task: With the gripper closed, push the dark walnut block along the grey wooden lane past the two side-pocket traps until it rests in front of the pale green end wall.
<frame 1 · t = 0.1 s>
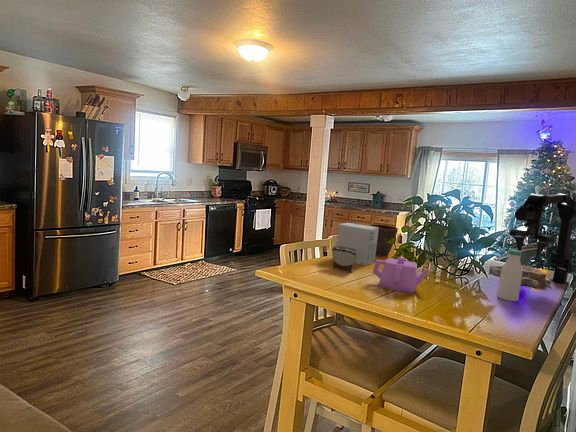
hand: (528, 253, 197), 15 cm above the table, tool pointing down, fingers open, 9 cm apart
teakettle: (398, 287, 171), on the table
supplement box 2: (354, 260, 213), on the table
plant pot: (380, 255, 234), on the table
supplement box: (465, 269, 220), on the table
food container: (344, 269, 191), on the table
block: (535, 285, 200), on the table
milk bottle: (507, 299, 170), on the table
trap lane: (517, 279, 208), on the table
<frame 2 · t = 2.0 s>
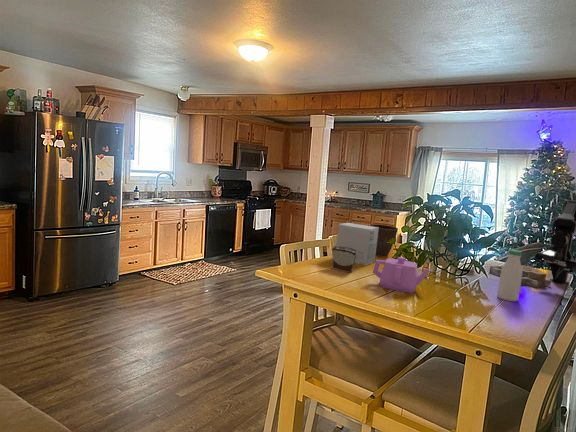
hand: (554, 278, 192), 5 cm above the table, tool pointing down, fingers closed
nothing on the table moved.
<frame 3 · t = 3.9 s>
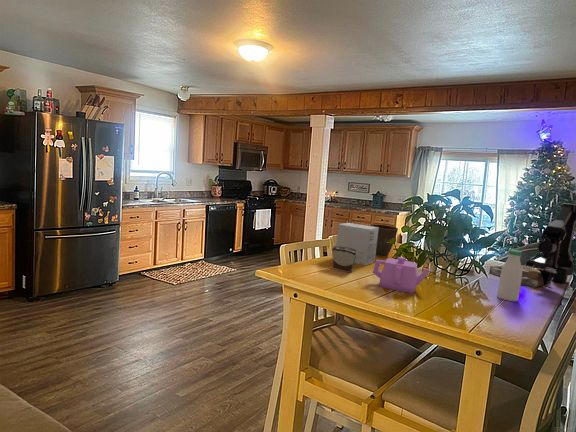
hand: (545, 285, 195), 1 cm above the table, tool pointing down, fingers closed
block: (535, 284, 200), on the table, touching gripper
everything else where it was.
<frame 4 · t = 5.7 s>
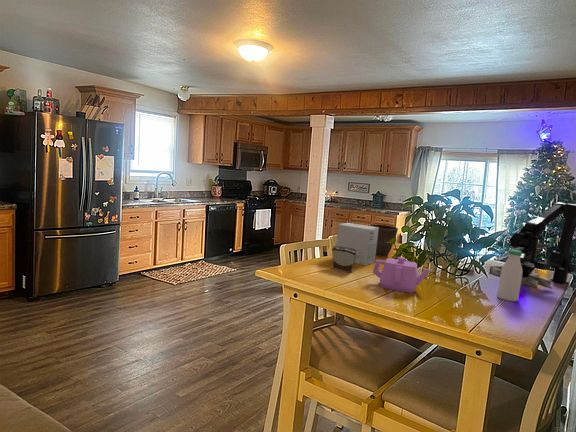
hand: (524, 279, 205), 1 cm above the table, tool pointing down, fingers closed
block: (520, 276, 208), point 1 cm above the table, tilted 28°, touching gripper
everything else where it was.
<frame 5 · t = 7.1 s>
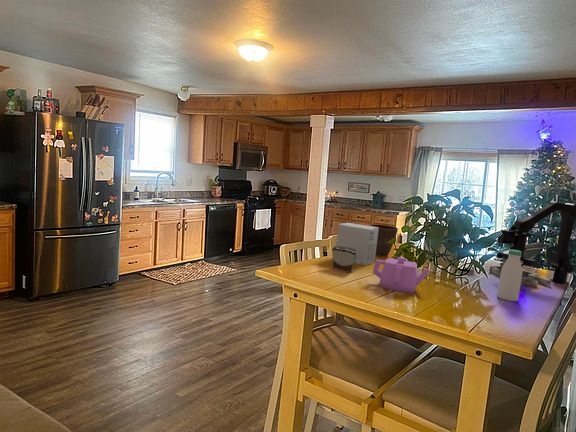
hand: (513, 275, 210), 1 cm above the table, tool pointing down, fingers closed
block: (510, 273, 213), point 1 cm above the table, tilted 28°, touching gripper
everything else where it was.
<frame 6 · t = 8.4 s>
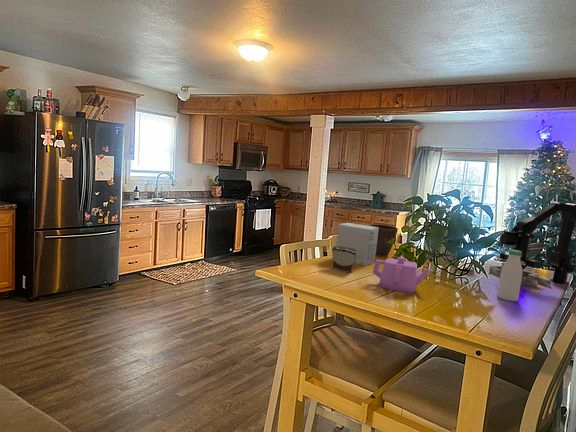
hand: (516, 276, 209), 1 cm above the table, tool pointing down, fingers closed
block: (509, 275, 214), on the table, tilted 8°
everything else where it was.
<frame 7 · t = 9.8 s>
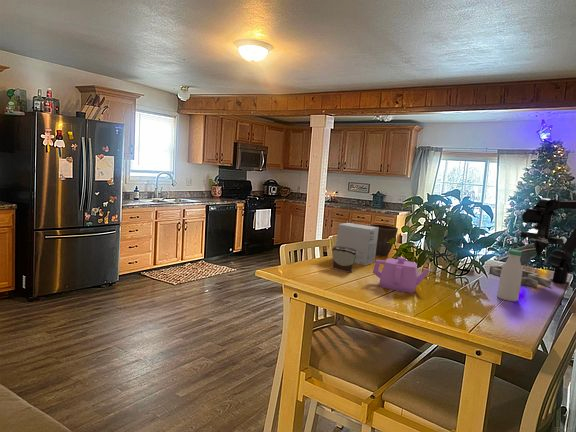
hand: (538, 255, 207), 13 cm above the table, tool pointing down, fingers closed
block: (509, 275, 214), on the table
everything else where it was.
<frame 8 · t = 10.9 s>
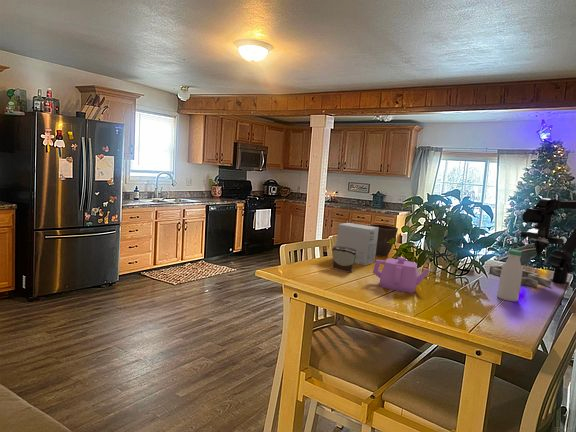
hand: (538, 254, 207), 13 cm above the table, tool pointing down, fingers closed
nothing on the table moved.
at the end: block inside the target area (1.9 cm from its centre), on the table; block tilted 0° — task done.
